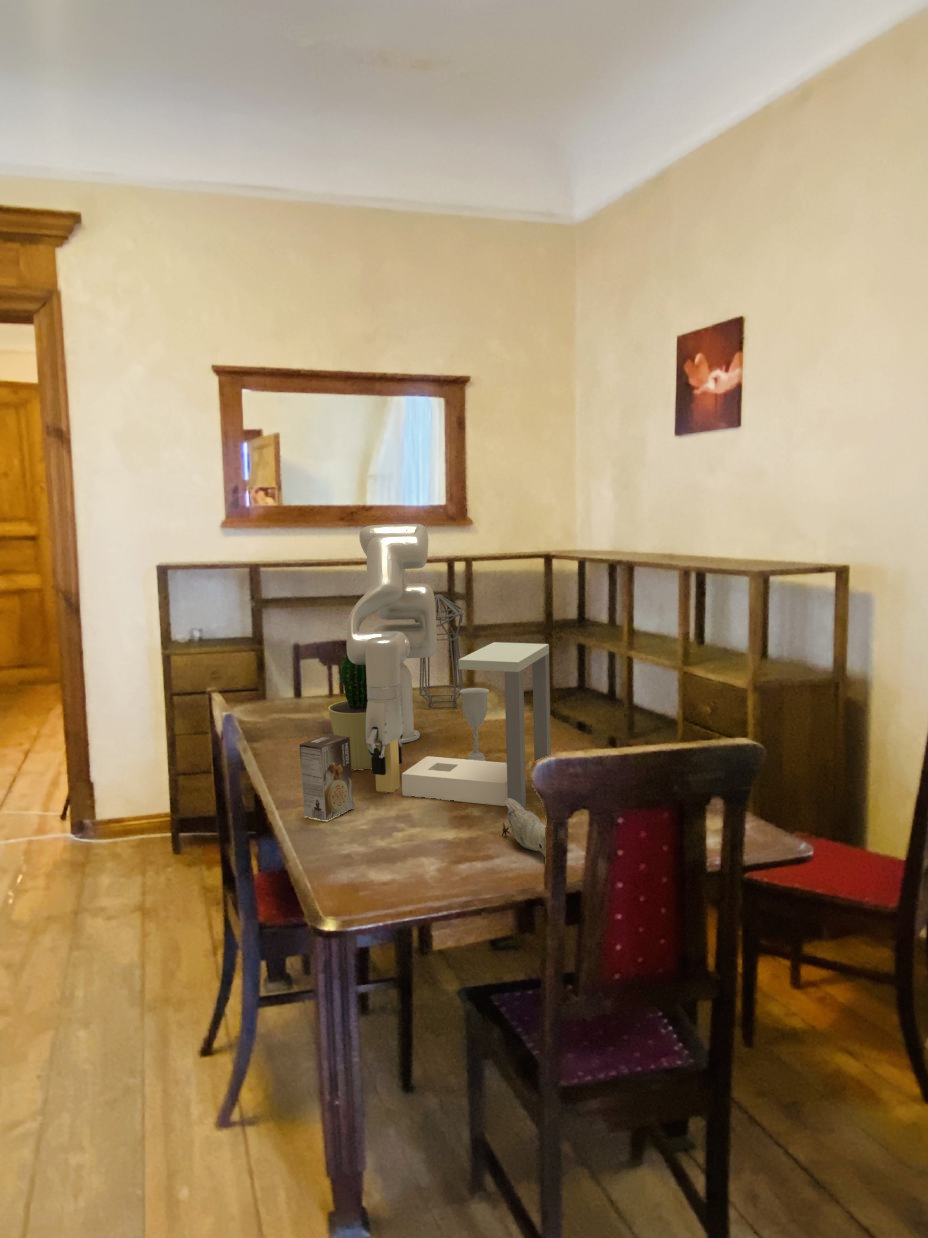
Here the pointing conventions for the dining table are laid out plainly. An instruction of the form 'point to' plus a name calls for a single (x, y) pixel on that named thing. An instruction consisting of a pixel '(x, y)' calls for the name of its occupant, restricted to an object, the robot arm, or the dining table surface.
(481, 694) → the chalice
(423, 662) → the geometric lantern
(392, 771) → the peg
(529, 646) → the c-shaped stand
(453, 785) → the socket block
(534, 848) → the decorative bird
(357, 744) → the potted cactus
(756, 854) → the dining table surface
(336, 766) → the coffee box
